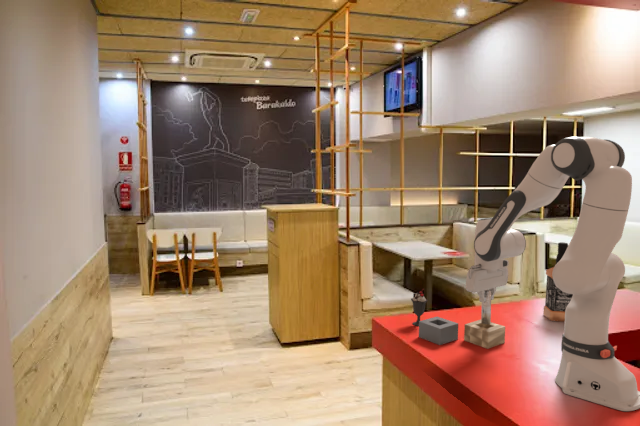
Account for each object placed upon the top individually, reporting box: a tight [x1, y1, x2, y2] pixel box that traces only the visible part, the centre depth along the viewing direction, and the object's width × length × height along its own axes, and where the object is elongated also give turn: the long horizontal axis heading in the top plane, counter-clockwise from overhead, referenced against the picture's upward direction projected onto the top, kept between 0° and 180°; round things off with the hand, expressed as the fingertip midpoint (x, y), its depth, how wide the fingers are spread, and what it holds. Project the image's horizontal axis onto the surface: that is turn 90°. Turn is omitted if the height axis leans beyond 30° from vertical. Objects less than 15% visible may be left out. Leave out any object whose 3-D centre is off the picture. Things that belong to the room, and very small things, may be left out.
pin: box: [480, 289, 492, 324], centre depth 172 cm, size 3×3×12 cm
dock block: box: [418, 316, 459, 346], centre depth 177 cm, size 10×10×6 cm
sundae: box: [410, 288, 429, 327], centre depth 192 cm, size 7×7×15 cm
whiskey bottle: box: [542, 242, 573, 323], centre depth 199 cm, size 10×10×32 cm
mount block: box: [463, 319, 506, 350], centre depth 173 cm, size 10×10×6 cm
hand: (486, 300), depth 172 cm, fingers closed on pin, 3 cm apart
